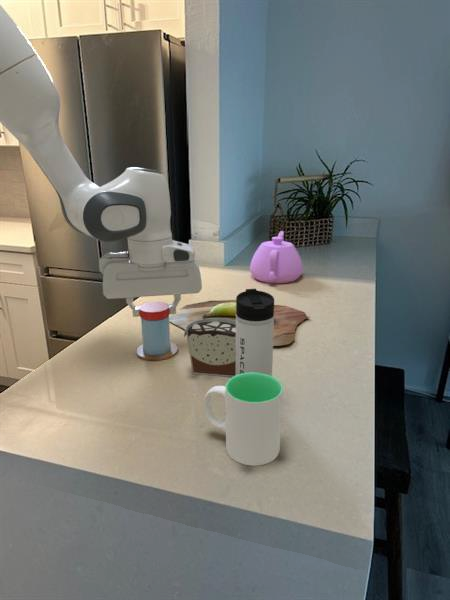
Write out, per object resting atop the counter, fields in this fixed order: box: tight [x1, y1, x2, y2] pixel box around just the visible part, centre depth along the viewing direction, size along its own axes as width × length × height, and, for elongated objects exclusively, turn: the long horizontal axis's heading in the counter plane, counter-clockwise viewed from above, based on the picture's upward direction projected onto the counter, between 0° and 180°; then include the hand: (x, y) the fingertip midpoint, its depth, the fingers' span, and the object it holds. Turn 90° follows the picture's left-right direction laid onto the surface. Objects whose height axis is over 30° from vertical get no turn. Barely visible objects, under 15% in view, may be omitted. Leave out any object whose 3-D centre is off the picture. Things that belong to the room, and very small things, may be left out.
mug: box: [203, 372, 283, 467], centre depth 64 cm, size 12×8×10 cm, turn 67°
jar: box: [140, 315, 171, 355], centre depth 93 cm, size 6×6×10 cm
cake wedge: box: [183, 318, 236, 378], centre depth 86 cm, size 12×6×10 cm, turn 80°
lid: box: [139, 301, 170, 320], centre depth 91 cm, size 6×6×2 cm
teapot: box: [249, 230, 304, 284], centre depth 145 cm, size 25×18×14 cm
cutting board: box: [169, 299, 311, 347], centre depth 110 cm, size 35×27×4 cm
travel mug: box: [235, 288, 275, 377], centre depth 73 cm, size 6×7×20 cm
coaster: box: [136, 341, 179, 362], centre depth 95 cm, size 9×9×1 cm
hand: (155, 314), depth 92 cm, fingers closed on lid, 6 cm apart
